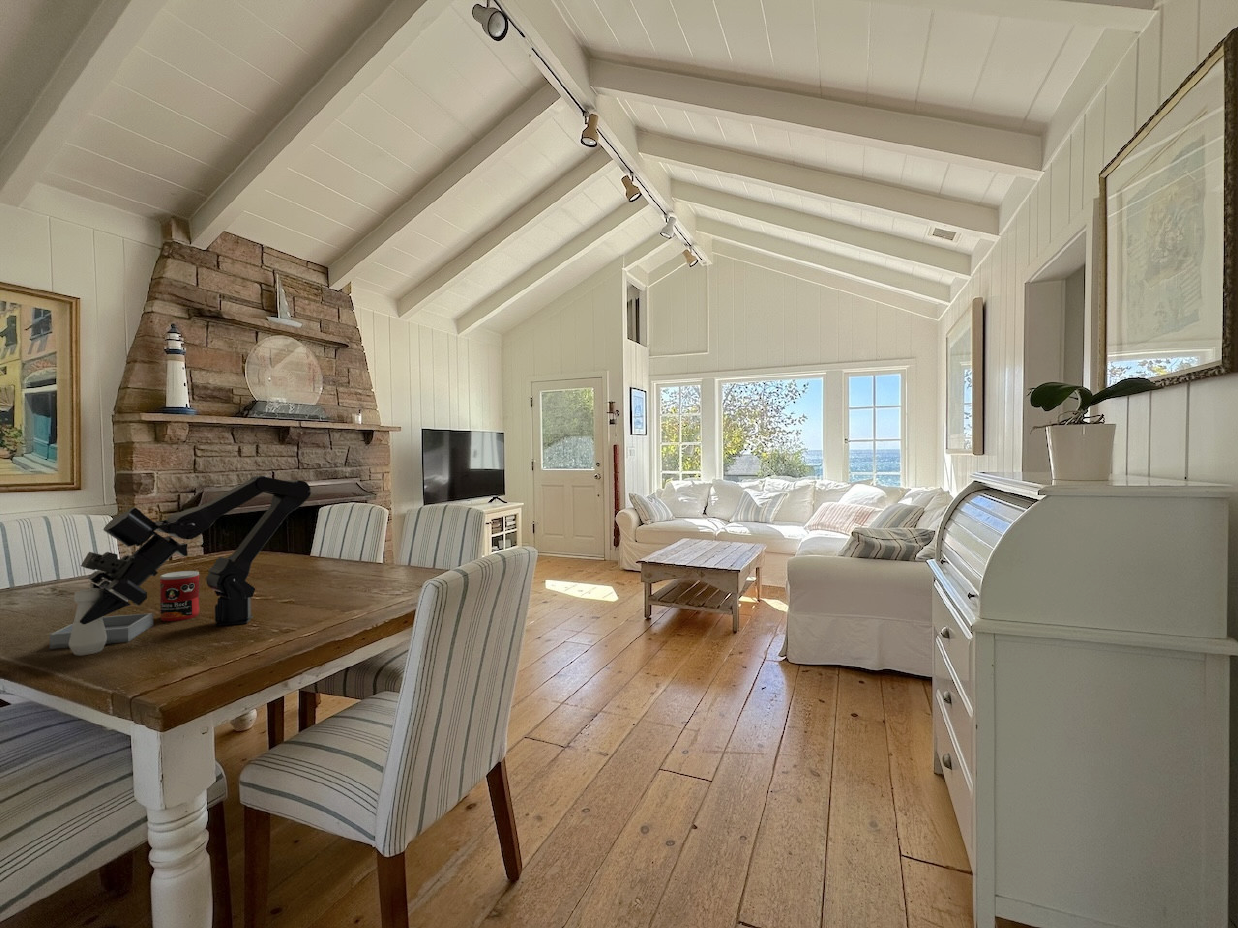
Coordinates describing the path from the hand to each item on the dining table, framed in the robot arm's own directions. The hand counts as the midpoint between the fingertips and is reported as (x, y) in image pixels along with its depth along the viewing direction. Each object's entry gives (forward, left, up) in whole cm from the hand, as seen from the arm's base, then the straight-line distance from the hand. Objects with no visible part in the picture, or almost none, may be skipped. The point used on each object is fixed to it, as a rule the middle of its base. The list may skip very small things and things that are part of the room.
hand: (79, 621), depth 114 cm
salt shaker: (-1, -1, -7) cm, 7 cm away
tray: (+1, -13, -7) cm, 14 cm away
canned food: (-9, -26, -7) cm, 28 cm away
